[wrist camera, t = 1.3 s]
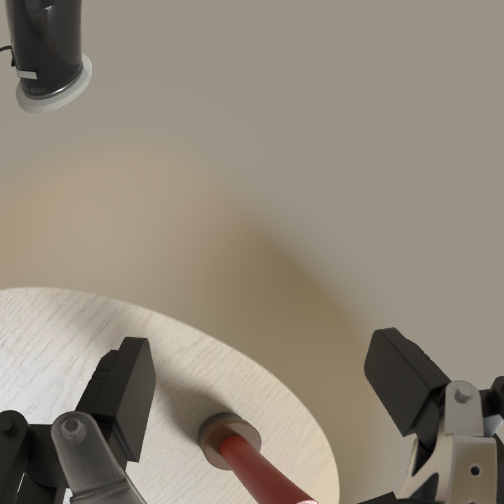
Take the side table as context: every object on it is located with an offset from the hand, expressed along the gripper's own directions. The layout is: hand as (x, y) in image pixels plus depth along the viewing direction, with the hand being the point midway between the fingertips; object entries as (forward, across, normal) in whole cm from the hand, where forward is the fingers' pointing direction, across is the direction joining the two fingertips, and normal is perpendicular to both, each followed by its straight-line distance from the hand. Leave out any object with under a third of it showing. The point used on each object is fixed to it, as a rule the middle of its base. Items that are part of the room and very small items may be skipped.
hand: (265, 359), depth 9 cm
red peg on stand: (+9, +2, +17) cm, 19 cm away
